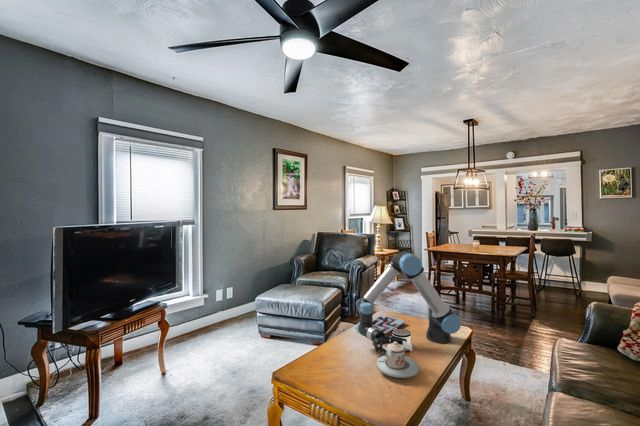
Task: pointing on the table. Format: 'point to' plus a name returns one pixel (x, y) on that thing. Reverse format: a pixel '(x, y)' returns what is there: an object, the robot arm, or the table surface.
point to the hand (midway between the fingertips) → (401, 351)
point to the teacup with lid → (396, 355)
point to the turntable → (407, 371)
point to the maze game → (386, 323)
